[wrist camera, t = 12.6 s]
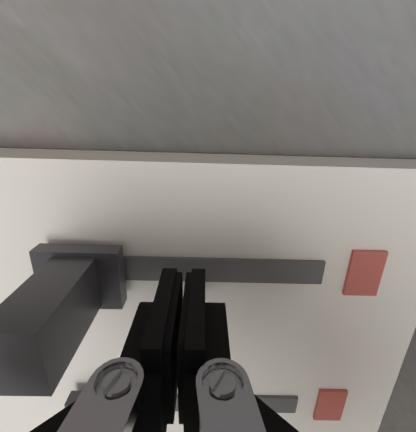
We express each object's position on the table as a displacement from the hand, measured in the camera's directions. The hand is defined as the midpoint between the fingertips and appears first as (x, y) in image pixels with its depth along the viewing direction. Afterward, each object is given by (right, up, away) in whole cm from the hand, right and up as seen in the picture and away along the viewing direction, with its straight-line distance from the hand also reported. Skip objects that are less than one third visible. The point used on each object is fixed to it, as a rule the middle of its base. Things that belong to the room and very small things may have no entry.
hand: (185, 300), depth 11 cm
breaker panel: (0, -7, +8) cm, 10 cm away
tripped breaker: (-5, +1, +2) cm, 5 cm away
